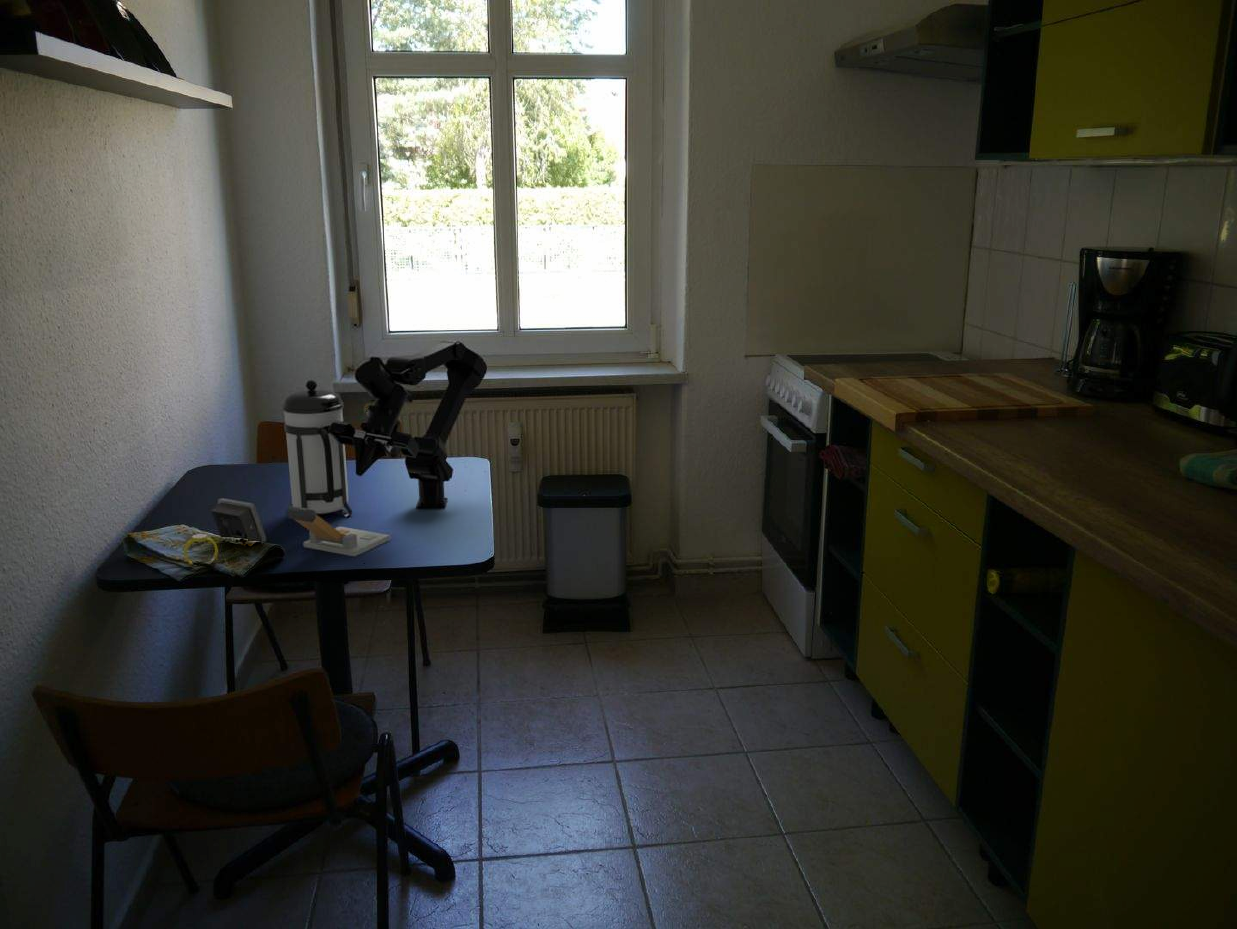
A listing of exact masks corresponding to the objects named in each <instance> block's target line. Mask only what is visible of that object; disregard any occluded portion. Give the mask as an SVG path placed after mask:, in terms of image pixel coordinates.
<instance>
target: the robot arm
mask: <svg viewBox="0 0 1237 929" xmlns="http://www.w3.org/2000/svg"><path fill="white" fill-rule="evenodd" d="M441 366H443V367H445V369H447V370H446V378H447V381H448V384H447V387H446V388H445V391H444V393H443V395H442V398H441V400H440V402H439V404H438V406H437V408H436V411H435V412H434V415H433V417H432V420H431V421H430V423H429V425H428V428H427V430H426V433H425V434H424V435H422V436H421V437H420V436H414V437H413V435H411V433H406V432H405V433H404V432H400V431H399V427H400V424H401V421H400V420H399V417H400V415H401V413H402V410H403V408H404V405H405V403H408V404H409V403H410V404H412V403H413V401H414V400H413V396H412V395H411V391H410V389H405V387H403V386H402V385H404V386H412V387H413V386H417V385H419V384H420V383H421V382H423V381H424V380H425V379H426V376H427V374H428V372H431V371H433V370H435V369H437V368H439V367H441ZM487 370H488V366H487V364H486V361H485V360H484V358H483V357H482V356H481V355H480V354H478V353H477V352H475V351H474V350H472V349H469V348H468V347H466V345H465V344H464V343H463V342H460V341H459V340H449V339H448V340H447V339H445V340H442V341H440V342H439V343H438V344H435V345H433V346H431V347H428V348H426V349H424V350H422V351H420V352H417V353H415V354H411V355H410V354H408V355H396V356H392V357H389V358H388V359H387V360H386V363H384V362H383V360H382V359H381V357H380V356H370V358H369V359H368V361H365V362H364V363H362V364H361V365H360V366H359V367H357V368H356V370H355V373H354V379H355V381H356V382H357V383H358V384H359V386H361V387H362V388H363V389H364V390H365V391H366V393H367V394H368V395H370V397H372V398H373V399H374V398H375V401H374V403H373V405H368V408H367V411H368V412H369V415H368V417H367V418H366V421H365V422H361V423H360V428H361V429H362V430H360V429H355V427H354V426H353V425H352V424H351V423H350V422H345V421H344V422H340V421H335V422H332V424H331V425H330V427H329V430H328V431H329V433H330V434H331V435H332V436H333V437H334V438H335V439H336V440H337V441H338V442H339V443H341V444H344V445H345V446H350V447H353V446H354V455H355V475H356V476H359V477H362V476H363V475H365V473H366V472H367V471H368V470H369V469H370V468H371V467H372V465H373V464H374V463H376V462H377V461H378V460H379V459H380V458H384V457H390V458H393V459H395V458H397V457H398V455H399V454H400V453H401V454H402V455H403V456H405V459H404V465H405V467H406V471H407V474H408V476H409V479H410V480H411V479H412V480H413V479H414V480H417V481H418V500H417V503H416V506H415V507H416V509H443V508H446V506H447V503H448V497H445V482H449V481H450V480H451V479H453V474H454V473H453V472H454V468H453V467H452V466H451V465H450V463H449V462H448V461H447V458H448V452H447V447H446V443H447V441H448V439H449V438H450V437H449V436H450V435H451V432H452V430H453V428H454V426H455V424H456V421H457V419H458V416H459V415H460V412H461V410H462V407H463V405H464V404H465V401H466V399H467V397H468V395H469V393H471V392H472V391H473V390H475V389H477V388H478V387H479V386H480V385H481V383H482V382H483V380H484V379H485V376H486V374H487Z"/></svg>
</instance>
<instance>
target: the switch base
mask: <svg viewBox="0 0 1237 929" xmlns="http://www.w3.org/2000/svg"><path fill="white" fill-rule="evenodd" d="M334 528H335V529H336V530H337V531H339V532H340V533H341V534H345V535H346V536H344V537H343V544H338V543H332V542H327V541H321V540H319V539H318V536H316V535H315V534H313V533H312V532H311V531H309V530H308V533H309V539H308V540H305V541H303V543H302V544H303V547H304V548H307V549H308V548H309V549H313V550H318V551H319V550H320V551H325V552H329V553H334V554H339V555H344V556H345V555H346V556H349V557H350V556H351V557H356V556H358V555H361V554H363V553H366V552H367V551H370V550H371V549H373V548H376V547H377V546H380V545H382V544H384V543H385V542H388V541H390V540H391V537H390V536H391V535H389V534H384V533H380V532H379V533H378V532H373V531H367V530H362V529H358V528H357V529H356V528H350V527H346V526H338V527H334Z"/></svg>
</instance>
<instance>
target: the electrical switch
mask: <svg viewBox="0 0 1237 929" xmlns="http://www.w3.org/2000/svg"><path fill="white" fill-rule="evenodd" d="M210 512H211V514H212V517H213V521H214V522H215V525H216V528H217V530H218V533H219V536H220V538H221V537H234V538H244V539H248V541H261V542H264V543H265V542H266V541H267V537H266V533H265V530H264V528H263V525H262V522H261V519H260V517H259V514H258V511H257V508H256V505H255V504H254V503H251V502H246V501H240V500H235V499H230V498H223V497H221V498H219V499H218V500H217V505H216V506H215V507H214V508H213V509H211V510H210Z"/></svg>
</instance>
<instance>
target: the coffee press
mask: <svg viewBox="0 0 1237 929" xmlns="http://www.w3.org/2000/svg"><path fill="white" fill-rule="evenodd" d="M317 386H318V384H317V382H316V381H315V380H313V379H310V380H308V381H307V382H306V384H305V387H306V388H307V389H306V390H300V391H296V392H293V393H291V394H289V395H287V397H285V399H284V402H283V404H282V405H281V410H282V412H284V414H283V415H284V422H283V423H284V427H283V428H284V432H285V436H286V446H287V457H288V458H287V461H288V468H289V470H288V471H289V481H290V483H289V484H290V492H291V503H292V504H291V505H290V506H294V507H300V508H306V509H312V510H315V512H316V515H322V514H331V513H334V512H338V513H340V514H342V516H343V517H345V518H348V517H349V516H351V515H352V514H353V510H352V509H351V507H350V506H349V504H348V503H349V489H348V487H349V486H348V474H347V473H348V472H347V460H346V445H344V444H341V443H339V442H338V441H337V440H336V439H335V438H334V437H333V436H332V435H331V434H330V433H329V431H328V430H329V427H330V425H331V424H332V422H335V421H340V422H345V420H344V416H343V408H344V407H345V405H344V404H345V403H344V401H342V399H341V397H340V396H339V394H338V393H336V392H334V391H331V390H326V389H325V390H324V389H317ZM344 509H345V510H346V511H345V510H344Z"/></svg>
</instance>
